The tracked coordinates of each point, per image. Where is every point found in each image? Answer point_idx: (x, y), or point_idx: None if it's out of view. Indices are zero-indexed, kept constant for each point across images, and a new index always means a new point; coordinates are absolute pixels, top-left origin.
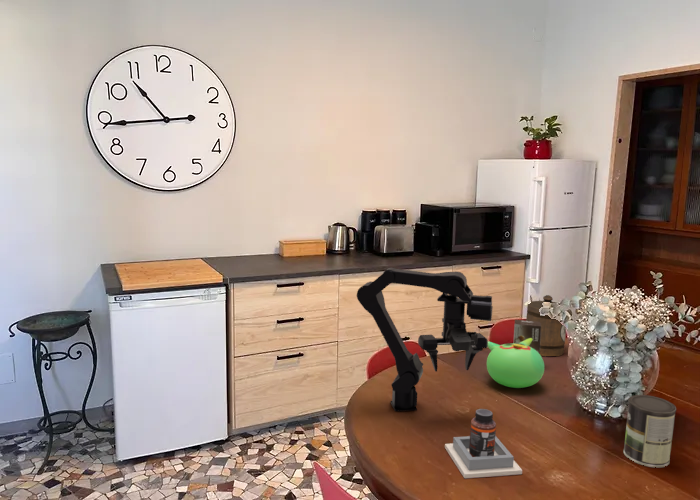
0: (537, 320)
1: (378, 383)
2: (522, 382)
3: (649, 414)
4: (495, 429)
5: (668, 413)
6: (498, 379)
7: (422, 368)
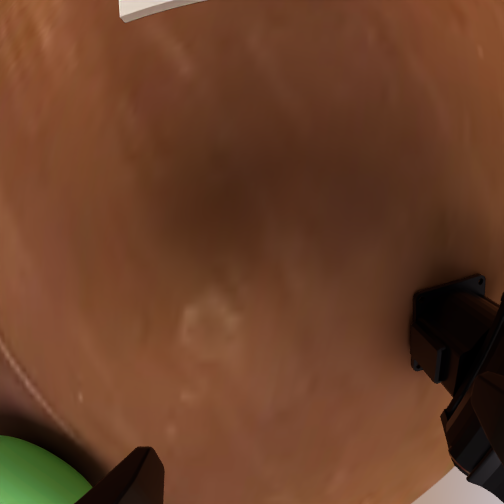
0: None
1: None
2: (3, 440)
3: None
4: None
5: None
6: (69, 475)
7: (463, 457)
